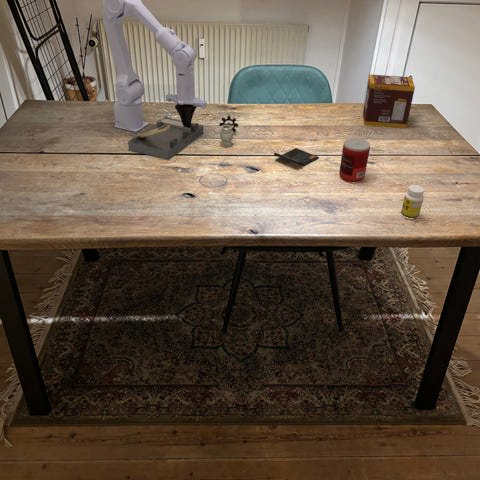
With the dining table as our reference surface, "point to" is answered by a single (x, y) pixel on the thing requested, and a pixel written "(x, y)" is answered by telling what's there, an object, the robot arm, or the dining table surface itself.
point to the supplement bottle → (413, 201)
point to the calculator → (298, 157)
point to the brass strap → (154, 131)
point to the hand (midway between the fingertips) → (186, 124)
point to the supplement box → (388, 101)
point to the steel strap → (176, 124)
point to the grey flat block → (165, 140)
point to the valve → (227, 131)
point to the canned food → (354, 159)
